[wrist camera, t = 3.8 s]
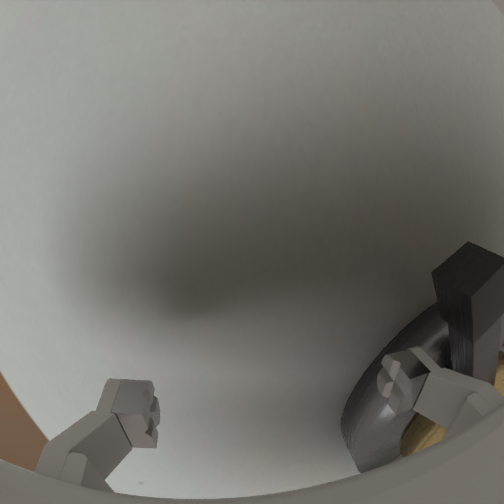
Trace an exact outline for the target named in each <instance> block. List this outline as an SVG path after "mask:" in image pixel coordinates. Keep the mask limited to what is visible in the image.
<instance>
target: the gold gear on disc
mask: <svg viewBox="0 0 504 504" xmlns="http://www.w3.org/2000/svg"><path fill="white" fill-rule="evenodd" d="M416 346H418V347H421V348H422V349H423V350H424V351H425V352H426V353H427V354H428V355H429V356H430V357H431V358H432V359H433V360H434V361H435V362H436V364H437V365H438V366H439V367H440V368H441V369H442V368H447V369H449V370H452V360H451V349H450V339H449V331H448V323H447V322H446V321H445V320H443V319H442V318H441V317H440V312H439V306H438V302H437V303H436V304H434V305H433V306H431V307H430V308H428V309H427V310H426V311H424V312H423V313H422V314H421V315H419V316H418V317H417V318H416V319H414V320H413V321H412V322H411V323H410V324H409V325H408V326H407V327H406V328H404V329H403V330H402V331H401V332H400V333H399V334H398V335H397V336H396V337H395V338H394V339H393V340H392V341H391V342H390V343H389V344H388V345H387V346H386V348H385V349H384V350H383V351H382V352H381V353H380V354H379V355H378V357H377V358H376V359H375V360H374V361H373V363H372V364H371V365H370V367H369V368H368V369H367V370H366V372H365V373H364V374H363V376H362V377H361V379H360V380H359V382H358V383H357V385H356V386H355V388H354V390H353V392H352V393H351V395H350V397H349V399H348V401H347V404H346V406H345V408H344V412H343V415H342V419H341V432H342V436H343V438H344V440H345V442H346V445H347V447H348V449H349V451H350V453H351V455H352V458H353V460H354V462H355V464H356V466H357V468H358V470H359V471H360V472H361V473H364V472H367V471H370V470H373V469H376V468H379V467H381V466H384V465H387V464H390V463H392V462H395V461H397V460H400V459H402V458H403V457H402V456H401V454H400V451H399V447H400V443H401V440H402V438H403V436H404V434H405V433H406V431H407V430H408V428H409V427H410V425H411V424H412V423H413V421H414V420H415V419H416V418H417V416H418V415H419V414H420V413H418V412H416V411H414V410H413V409H410V410H407V411H404V412H401V413H398V414H394V413H393V411H392V410H391V408H390V407H389V405H388V404H387V401H388V398H386V397H384V396H382V395H381V393H380V392H379V389H378V387H377V377H378V373H379V372H380V371H381V369H382V368H383V366H382V364H381V363H382V360H383V358H384V356H385V355H387V354H391V353H395V352H399V351H403V350H407V349H409V348H413V347H416ZM499 351H502V352H504V313H503V314H502V319H501V335H500V346H499Z"/></svg>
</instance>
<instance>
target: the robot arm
mask: <svg viewBox="0 0 504 504" xmlns="http://www.w3.org/2000/svg"><path fill="white" fill-rule="evenodd" d="M381 364H382V366H383V368H382V369H381V371H380V372H379V373H378V377H377V387H378V389H379V392H380V393H381V395H382V396H384V397H386V398H388V401H387V404H388V405H389V407H390V408H391V410H392V411H393V413H394V414H398V413H401V412H404V411H407V410H410V409H413V410H414V411H416V412H418V413H420V414H421V415H423V416H425V417H426V418H428V419H430V420H432V421H433V422H435V423H437V424H439V425H441V426H442V427H444V428H446V429H448V431H447V432H446V434H445V435H444V437H443V439H442V440H441V441H439V442H437V443H435V444H433V445H431V446H429V447H427V448H425V449H423V450H421V451H418V452H416V453H414V454H412V455H409V456H407V457H405V458H402V459H400V460H397V461H395V462H392V463H390V464H387V465H384V466H381V467H379V468H376V469H373V470H370V471H367V472H364V473H361V474H358V475H354V476H351V477H348V478H344V479H341V480H337V481H333V482H329V483H325V484H321V485H317V486H312V487H308V488H303V489H298V490H292V491H287V492H281V493H274V494H267V495H259V496H250V497H238V498H222V499H172V498H156V497H145V496H136V495H128V494H121V493H115V492H114V491H113V490H112V489H111V487H110V486H109V485H108V484H107V483H106V481H105V479H106V478H107V477H108V475H109V474H110V473H111V472H112V471H113V470H114V469H115V468H116V467H117V465H118V464H119V463H120V462H121V461H122V460H123V459H124V458H125V456H126V455H127V454H128V453H129V452H130V451H131V450H132V447H136V448H157V439H158V431H157V429H156V426H157V425H158V424H159V423H160V407H159V402H158V399H157V398H156V397H155V396H154V390H155V389H154V386H153V382H152V381H146V380H128V379H123V380H122V379H111V378H110V379H108V380H107V382H106V384H105V387H104V390H103V392H102V395H101V398H100V400H99V403H98V406H97V409H96V411H91V412H90V413H88V414H87V415H86V416H84V417H83V418H81V419H80V420H79V421H77V422H76V423H74V424H73V425H72V426H70V427H69V428H68V429H66V430H65V431H63V432H62V433H61V434H59V435H58V436H56V437H55V438H53V439H52V440H51V441H49V442H48V443H47V444H45V446H44V449H43V451H42V454H41V456H40V459H39V461H38V464H37V467H36V469H35V472H32V471H29V470H26V469H24V468H21V467H18V466H16V465H13V464H11V463H9V462H6V461H4V460H2V459H0V504H504V397H503V396H502V395H501V394H500V393H499V392H498V391H497V390H496V389H495V388H494V387H493V386H492V385H491V384H490V383H488V382H485V381H482V380H479V379H476V378H473V377H470V376H467V375H464V374H461V373H458V372H455V371H452V370H449V369H447V368H442V369H441V368H440V367H439V366H438V365H437V364H436V362H435V361H434V360H433V359H432V358H431V357H430V356H429V355H428V354H427V353H426V352H425V351H424V350H423V349H422V348H421V347H418V346H416V347H413V348H409V349H407V350H403V351H399V352H395V353H391V354H387V355H385V356H384V358H383V360H382V363H381Z"/></svg>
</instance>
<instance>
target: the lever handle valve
mask: <svg viewBox="0 0 504 504" xmlns="http://www.w3.org/2000/svg"><path fill="white" fill-rule="evenodd" d="M431 273H432V277H433V282H434V286H435V291H436V296H437V301H438V306H439V312H440V317H441V318H442V319H443V320H445V321H446V322H447V323H448V331H449V339H450V349H451V360H452V371H455V372H458V373H461V374H464V375H467V376H470V377H473V378H476V379H479V380H482V381H485V382H488V383H490V384H491V385H492V386H493V387H494V388H495V389H496V390H497V391H498V392H499V393H500V394H501V395H502V396H503V397H504V352H502V351H499V346H500V335H501V319H502V314H503V313H504V258H503V257H501V256H499V255H497V254H495V253H493V252H490V251H488V250H486V249H484V248H482V247H479V246H477V245H475V244H472V243H470V242H467V243H466V244H464V245H463V246H462V247H461V248H460V249H459V250H458V251H456V252H455V253H454V254H453V255H452V256H451V257H449V258H448V259H447V260H446V261H445V262H443V263H442V264H441V265H440V266H439V267H437V268H436V269H435V270H434V271H432V272H431ZM447 431H448V429H446V428H444V427H442V426H441V425H439V424H437V423H435V422H433V421H432V420H430V419H428V418H426V417H425V416H423V415H421V414H419V415H418V416H417V418H416V419H415V420H414V421H413V423H412V424H411V425H410V427H409V428H408V430H407V431H406V433H405V434H404V436H403V438H402V440H401V443H400V447H399V451H400V454H401V456H402V457H403V458H405V457H407V456H409V455H412V454H414V453H416V452H418V451H421V450H423V449H425V448H427V447H429V446H431V445H433V444H435V443H437V442H439V441H441V440H442V439H443V437H444V435H445V434H446V432H447Z"/></svg>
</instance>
